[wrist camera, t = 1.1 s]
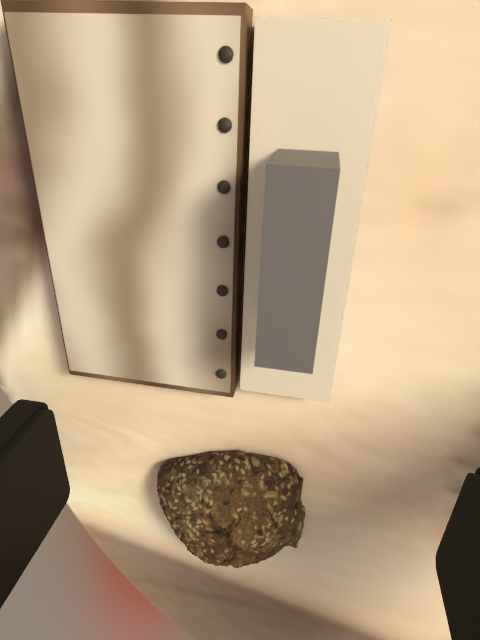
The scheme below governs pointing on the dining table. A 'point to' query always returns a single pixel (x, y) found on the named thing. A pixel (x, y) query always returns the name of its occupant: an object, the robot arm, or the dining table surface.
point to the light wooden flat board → (140, 180)
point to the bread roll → (232, 505)
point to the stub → (305, 194)
